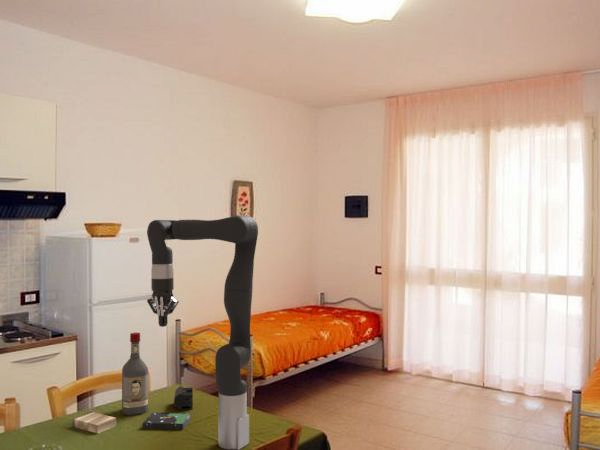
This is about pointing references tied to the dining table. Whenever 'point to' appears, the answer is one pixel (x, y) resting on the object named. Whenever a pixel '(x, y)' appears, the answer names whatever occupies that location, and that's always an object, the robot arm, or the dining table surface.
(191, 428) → the dining table surface
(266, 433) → the dining table surface
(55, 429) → the dining table surface
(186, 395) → the end cap
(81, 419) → the birch tile
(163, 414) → the disk drive
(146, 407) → the liquor
